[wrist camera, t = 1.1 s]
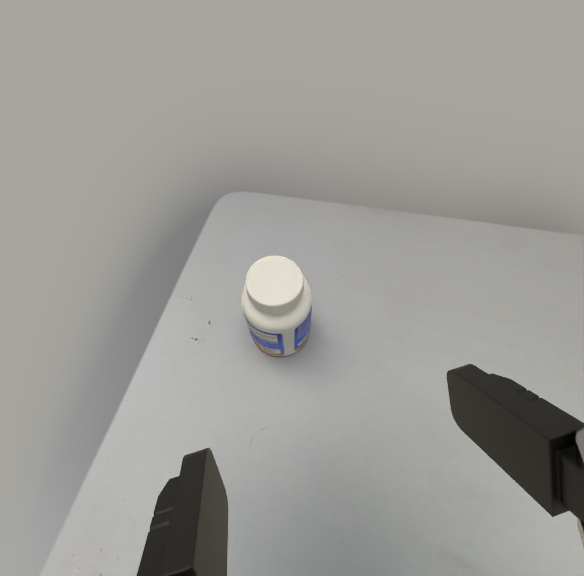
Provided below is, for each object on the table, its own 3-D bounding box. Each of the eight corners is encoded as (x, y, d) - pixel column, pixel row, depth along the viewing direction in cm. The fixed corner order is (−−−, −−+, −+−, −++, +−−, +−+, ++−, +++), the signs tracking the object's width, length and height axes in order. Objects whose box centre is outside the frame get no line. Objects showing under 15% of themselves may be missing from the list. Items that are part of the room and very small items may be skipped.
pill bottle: (296, 296, 33) (297, 236, 24) (318, 346, 30) (327, 298, 22) (244, 315, 32) (225, 259, 23) (262, 367, 29) (248, 326, 21)
